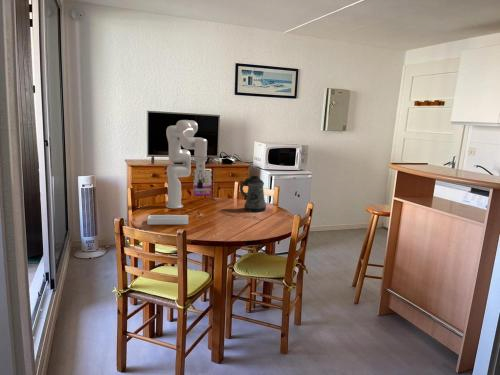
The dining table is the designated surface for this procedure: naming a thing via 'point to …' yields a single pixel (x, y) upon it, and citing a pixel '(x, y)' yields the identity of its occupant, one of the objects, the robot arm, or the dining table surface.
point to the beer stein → (254, 194)
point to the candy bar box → (206, 184)
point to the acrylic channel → (167, 219)
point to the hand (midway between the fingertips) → (199, 187)
